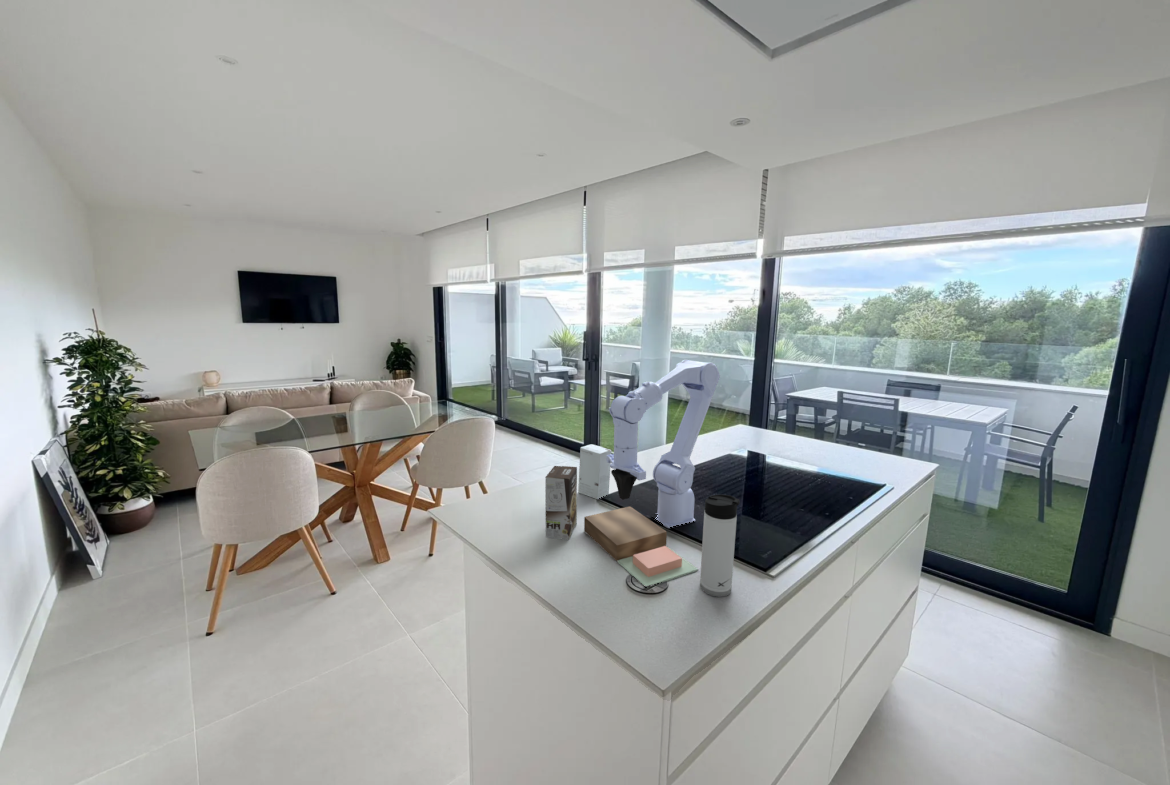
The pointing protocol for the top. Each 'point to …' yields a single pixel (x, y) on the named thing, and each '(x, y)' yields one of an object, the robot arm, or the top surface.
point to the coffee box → (561, 502)
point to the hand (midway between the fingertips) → (624, 498)
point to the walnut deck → (624, 532)
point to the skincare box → (594, 471)
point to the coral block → (657, 561)
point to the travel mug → (718, 544)
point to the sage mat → (658, 578)
